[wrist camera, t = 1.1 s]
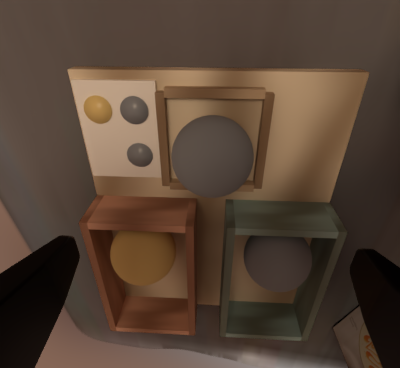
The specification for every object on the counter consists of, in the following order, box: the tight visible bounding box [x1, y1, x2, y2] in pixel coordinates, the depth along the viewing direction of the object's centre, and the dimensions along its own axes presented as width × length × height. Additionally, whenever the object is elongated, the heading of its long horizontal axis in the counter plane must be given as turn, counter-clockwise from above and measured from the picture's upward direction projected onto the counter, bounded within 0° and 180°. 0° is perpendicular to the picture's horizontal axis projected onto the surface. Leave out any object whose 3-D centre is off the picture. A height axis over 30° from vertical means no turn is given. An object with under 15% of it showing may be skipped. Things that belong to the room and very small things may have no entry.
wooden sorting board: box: [68, 66, 370, 341], centre depth 19 cm, size 16×20×4 cm
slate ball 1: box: [171, 115, 254, 198], centre depth 15 cm, size 4×4×4 cm
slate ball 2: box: [244, 235, 312, 292], centre depth 18 cm, size 4×4×4 cm
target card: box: [71, 79, 162, 178], centre depth 16 cm, size 5×6×1 cm
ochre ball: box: [110, 230, 176, 286], centre depth 19 cm, size 4×4×4 cm
